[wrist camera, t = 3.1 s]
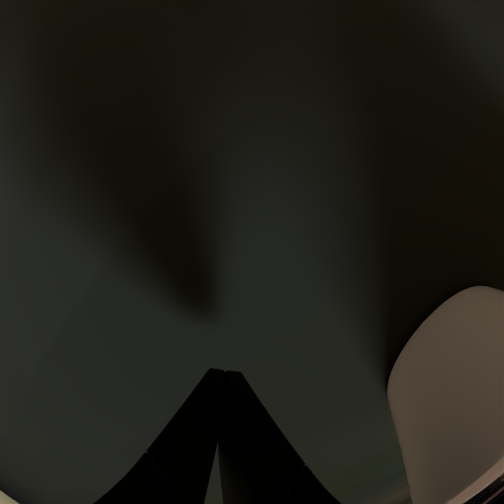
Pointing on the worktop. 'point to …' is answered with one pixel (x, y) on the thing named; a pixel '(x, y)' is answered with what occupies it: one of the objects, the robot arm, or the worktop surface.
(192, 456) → the robot arm
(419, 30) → the worktop surface
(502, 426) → the candle
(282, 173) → the worktop surface
